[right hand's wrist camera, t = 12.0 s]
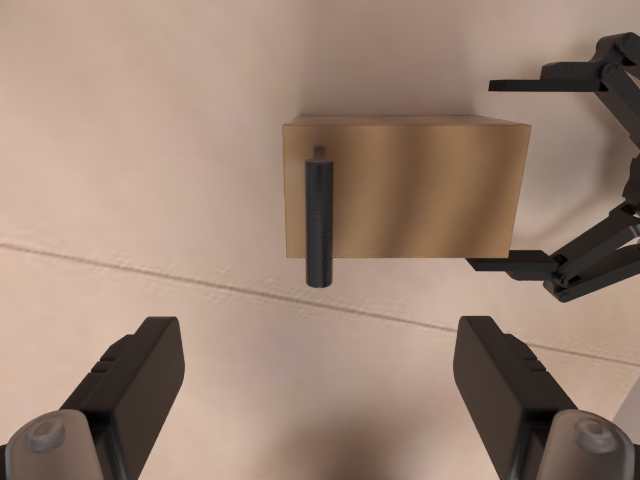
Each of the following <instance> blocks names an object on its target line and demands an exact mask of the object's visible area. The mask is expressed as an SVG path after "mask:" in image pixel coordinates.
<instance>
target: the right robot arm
mask: <svg viewBox="0 0 640 480" xmlns="http://www.w3.org/2000/svg"><path fill="white" fill-rule="evenodd" d="M184 372H185V361H184V354H183V347H182V340H181V333H180V326H179V321H178V319H177V318H176V317H147V318H146V319H145V320H144V322H143V323H142V324H141V326H140V327H139V328H138V330H137V331H136V332H135V334H134V335H126V336H124V337H123V338H121V339H120V340H118V341H117V342H115V343H114V344H112V345H111V346H110V347H109V348H108V350H107V351H106V352H105V353H104V355H103V356H102V357H101V358H100V361H98V362H97V363H96V364H95V366H94V367H93V368H92V369H91V373H88V374H87V375H86V377H85V378H84V379H83V380H82V382H81V383H80V384H79V385H78V387H77V388H76V389H75V390H74V392H73V393H72V394H71V395H70V396H69V398H68V399H67V400H66V401H65V403H64V404H63V405H62V406H61V408H60V409H59V410H57V411H53V412H49V413H46V414H44V415H41V416H39V417H37V418H35V419H33V420H31V421H30V422H28V423H27V424H25V425H24V426H23V427H21V428H20V429H19V430H18V431H17V432H16V433H15V434H14V435H13V436H12V437H11V438H10V440H9V442H8V443H7V444H5V445H2V446H0V480H138V478H139V476H140V474H141V472H142V469H143V467H144V465H145V463H146V461H147V459H148V456H149V454H150V452H151V450H152V448H153V446H154V444H155V441H156V439H157V437H158V435H159V433H160V431H161V429H162V426H163V424H164V422H165V420H166V418H167V416H168V413H169V411H170V409H171V407H172V405H173V403H174V401H175V398H176V396H177V394H178V392H179V390H180V388H181V385H182V382H183V379H184ZM453 372H454V378H455V382H456V385H457V387H458V389H459V391H460V394H461V396H462V398H463V400H464V402H465V404H466V407H467V409H468V411H469V413H470V415H471V417H472V420H473V422H474V424H475V426H476V428H477V431H478V433H479V435H480V437H481V439H482V441H483V444H484V446H485V448H486V450H487V452H488V454H489V457H490V459H491V461H492V463H493V465H494V468H495V470H496V472H497V474H498V476H499V478H500V480H640V445H637V444H633V443H632V442H631V440H630V439H629V437H628V436H627V435H626V434H625V433H624V432H623V431H622V430H621V429H620V428H619V427H617V426H616V425H615V424H613V423H612V422H610V421H609V420H607V419H605V418H603V417H601V416H599V415H596V414H594V413H591V412H587V411H583V410H579V409H578V408H577V407H576V405H575V404H574V403H573V402H572V400H571V399H570V398H569V397H568V396H567V394H566V393H565V392H564V391H563V389H562V388H561V387H560V386H559V384H558V383H557V382H556V381H555V379H554V378H553V377H552V376H551V374H550V373H549V372H546V368H545V367H544V366H543V364H542V363H541V362H540V361H538V360H537V357H536V356H535V354H534V353H533V352H532V351H531V349H530V348H529V347H528V346H527V345H526V344H525V343H523V342H522V341H520V340H519V339H517V338H516V337H514V336H513V335H512V334H503V332H502V331H501V330H500V328H499V327H498V326H497V324H496V323H495V322H494V320H493V319H492V318H491V317H490V316H462V317H461V318H460V320H459V325H458V332H457V339H456V346H455V353H454V360H453Z"/></svg>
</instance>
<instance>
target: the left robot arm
mask: <svg viewBox="0 0 640 480" xmlns="http://www.w3.org/2000/svg"><path fill="white" fill-rule="evenodd" d="M624 70H625V71H627V72H628V73H630V74H631V75H633V76H634V77H636V78H638V79H639V80H640V37H639V36H638V35H636V34H635V33H632V32H629V33H623V34H617V35H612V36H606V37H603V38H601V39H600V40H599V41H598V42H597V44H596V53H595V55H594V56H593V58H592V59H591V60H590V61H588V62H556V63H549V64H546V65H544V66H542V71H541V76H540V80H490V83H489V90H488V91H521V92H594V93H595V94H596V95H597V96H598V98H599V99H600V100H601V101H602V102H603V103H604V104H605V106H606V107H607V108H608V109H609V110H610V111H611V112H612V114H613V115H614V116H615V117H616V118H617V119H618V120H619V122H620V123H621V124H622V125H623V126H624V127H625V128H626V130H627V131H628V132H629V133H630V139H631V140H632V141H633V142H634V143H635V144H636V146H637V147H638V148H639V149H640V89H639V88H638V87H637V85H636V84H635V83H634V82H633V81H632V79H631V78H630V77H629V76H628V75H627V73H626V72H625V71H624ZM622 197H625V199H626V201H625V202H623V203H622V204H620V205H619V206H617V207H616V208H614V209H613V210H611V211H610V212H609V216H608V217H607V218H606V219H604V220H603V221H601V222H600V223H598V224H597V225H595V226H594V227H592V228H591V229H589V230H588V231H586V232H585V233H583V234H582V235H580V236H579V237H577V238H576V239H574V240H573V241H571V242H570V243H568V244H567V245H565V246H564V247H562V248H561V249H559V250H558V251H556V252H555V253H553V254H552V255H550V256H548V255H547V254H546V253H544V252H543V251H541V250H509V255H508V258H465V259H466V260H467V261H468V262H469V264H470V265H471V266H472V267H473V268H474V269H475V271H505V272H506V273H507V274H508V275H509V276H510V277H511V278H512V279H515V280H517V281H524V280H525V281H529V280H530V281H544V282H543V286H544V288H545V289H546V290H548V291H549V292H550V293H551V294H552V295H553V296H554V297H555V298H556V299H558V300H559V301H560V302H563V303H565V302H568V301H571V300H573V299H576V298H578V297H581V296H584V295H586V294H589V293H591V292H594V291H596V290H599V289H601V288H604V287H606V286H609V285H611V284H614V283H617V282H619V281H622V280H624V279H627V278H629V277H632V276H634V275H637V274H639V273H640V239H639V240H638V241H637V244H634V245H629V246H626V247H623V248H620V249H618V248H619V247H621V246H623V245H624V244H626V243H627V242H629V241H630V240H632V239H634V238H635V237H640V218H637V217H635V216H633V215H634V214H637V215H638V216H640V153H639V155H638V156H637V158H632V162H631V166H630V178H629V180H628V182H627V184H626V186H625V188H624V191H623V195H622ZM616 249H618V250H616Z"/></svg>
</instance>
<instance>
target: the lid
mask: <svg viewBox="0 0 640 480" xmlns="http://www.w3.org/2000/svg"><path fill="white" fill-rule="evenodd" d="M282 127H283V158H284V190H285V222H286V253H287V258H306V283H307V285H309V286H311V287H314V288H325V287H328V286H330V285H331V284H332V276H333V258H508V255H509V249H510V244H511V238H512V232H513V227H514V221H515V216H516V210H517V204H518V199H519V193H520V188H521V182H522V176H523V171H524V165H525V159H526V154H527V148H528V143H529V137H530V131H531V125H527V124H284V125H283V126H282Z"/></svg>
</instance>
